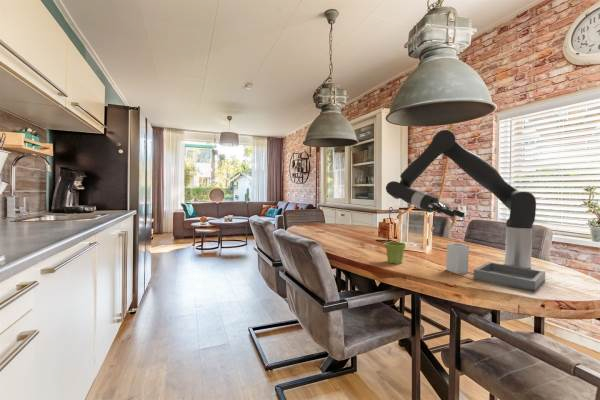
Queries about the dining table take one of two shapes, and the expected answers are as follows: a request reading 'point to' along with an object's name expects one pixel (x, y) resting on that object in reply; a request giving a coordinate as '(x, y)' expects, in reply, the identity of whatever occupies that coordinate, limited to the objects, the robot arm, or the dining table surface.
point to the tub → (457, 258)
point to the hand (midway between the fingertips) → (459, 215)
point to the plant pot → (395, 251)
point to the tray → (510, 276)
